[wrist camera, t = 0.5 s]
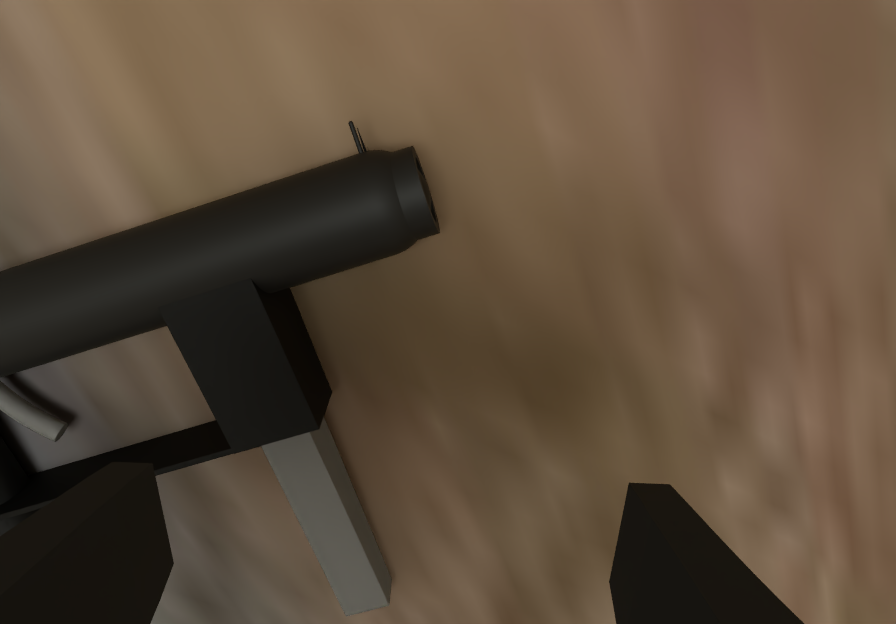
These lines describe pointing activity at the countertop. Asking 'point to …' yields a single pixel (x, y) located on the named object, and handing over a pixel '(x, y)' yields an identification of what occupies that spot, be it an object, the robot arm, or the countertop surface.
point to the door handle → (225, 337)
